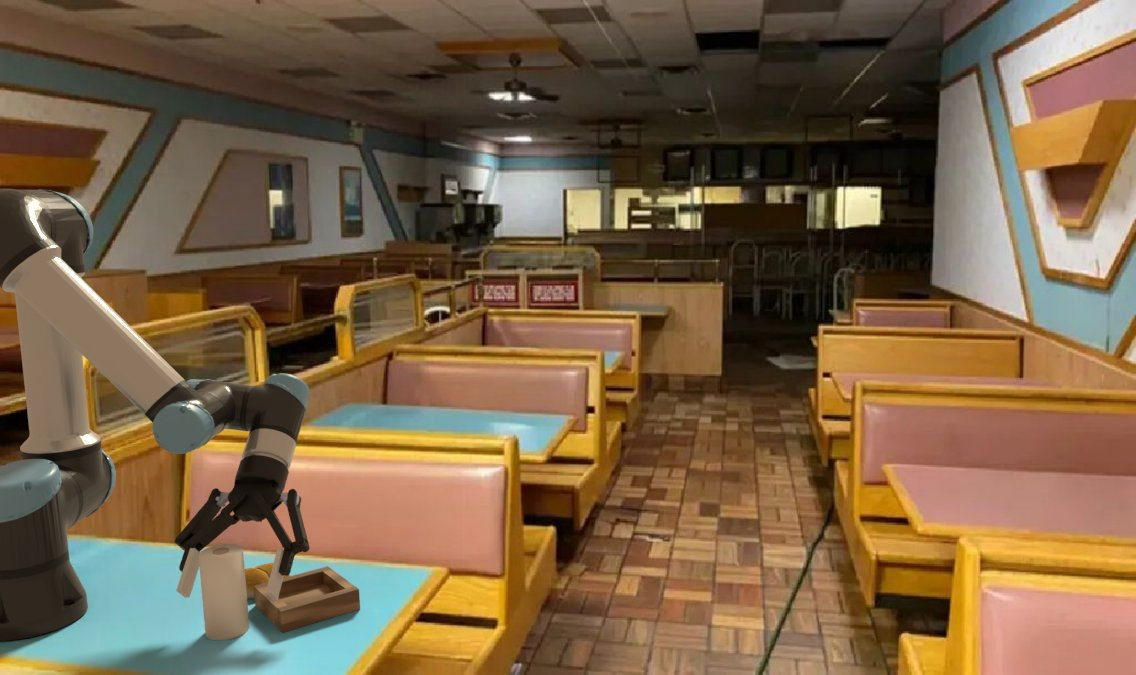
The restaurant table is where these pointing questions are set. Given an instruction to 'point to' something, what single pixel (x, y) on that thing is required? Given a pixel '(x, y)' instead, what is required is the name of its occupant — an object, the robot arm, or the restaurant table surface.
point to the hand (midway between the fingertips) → (226, 595)
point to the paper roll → (224, 591)
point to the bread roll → (257, 577)
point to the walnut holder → (308, 599)
